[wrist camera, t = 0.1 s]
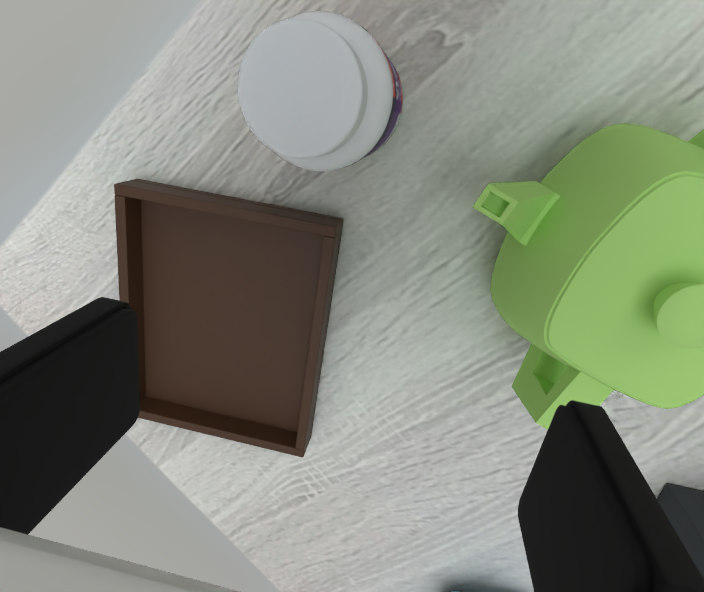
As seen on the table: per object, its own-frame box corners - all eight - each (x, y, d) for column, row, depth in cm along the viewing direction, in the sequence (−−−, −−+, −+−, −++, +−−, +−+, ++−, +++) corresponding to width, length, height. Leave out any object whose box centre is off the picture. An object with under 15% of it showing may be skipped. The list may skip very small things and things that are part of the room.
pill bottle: (426, 90, 22) (424, 73, 13) (358, 179, 24) (316, 216, 15) (339, 14, 22) (275, -58, 13) (277, 111, 24) (183, 109, 15)
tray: (137, 178, 26) (113, 183, 24) (344, 218, 25) (336, 226, 23) (143, 396, 32) (124, 414, 30) (311, 436, 31) (303, 457, 29)
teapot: (717, 83, 20) (947, 56, 11) (735, 313, 24) (922, 434, 15) (453, 168, 23) (467, 200, 14) (503, 360, 27) (539, 484, 18)
